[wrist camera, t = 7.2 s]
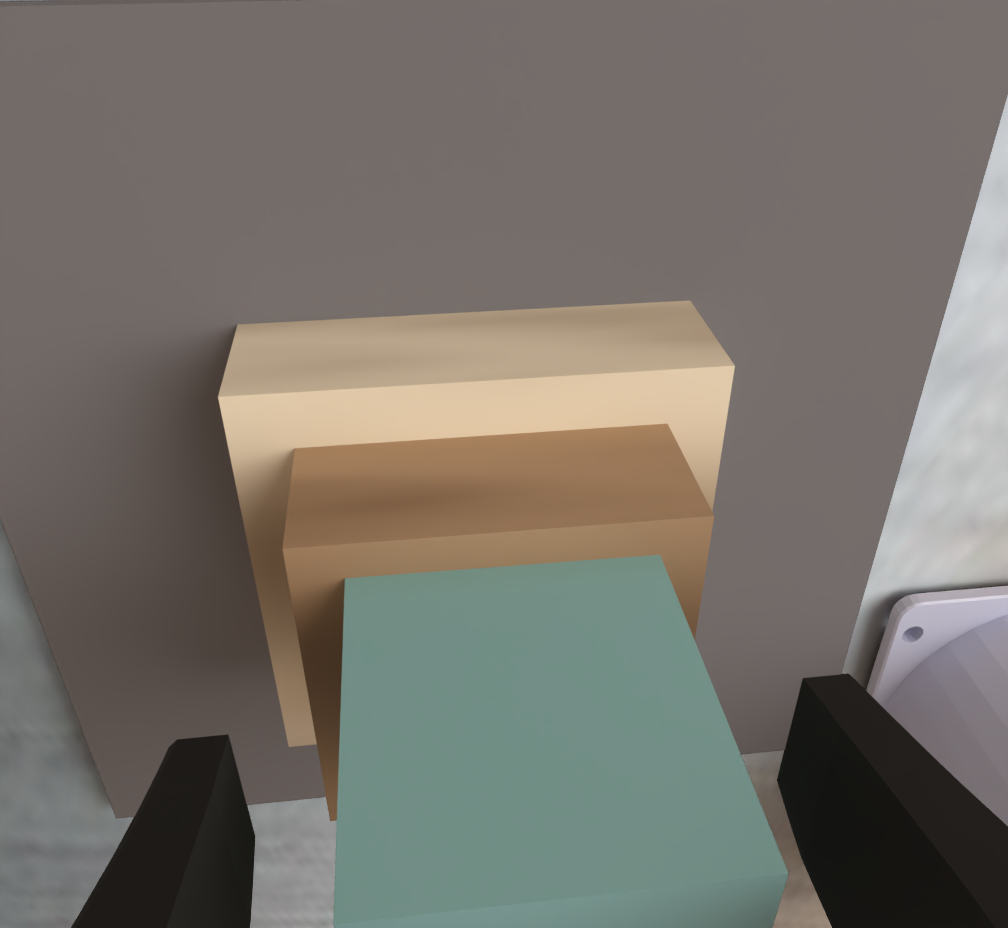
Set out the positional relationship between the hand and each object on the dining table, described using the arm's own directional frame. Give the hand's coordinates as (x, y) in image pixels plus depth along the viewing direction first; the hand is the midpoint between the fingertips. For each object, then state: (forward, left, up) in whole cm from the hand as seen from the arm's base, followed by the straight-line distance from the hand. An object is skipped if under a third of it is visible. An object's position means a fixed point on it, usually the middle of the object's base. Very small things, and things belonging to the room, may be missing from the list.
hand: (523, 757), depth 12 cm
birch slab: (-1, 0, -7) cm, 8 cm away
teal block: (-1, 0, -2) cm, 3 cm away
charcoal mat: (-1, 0, -8) cm, 8 cm away
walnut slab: (-1, 0, -5) cm, 5 cm away
